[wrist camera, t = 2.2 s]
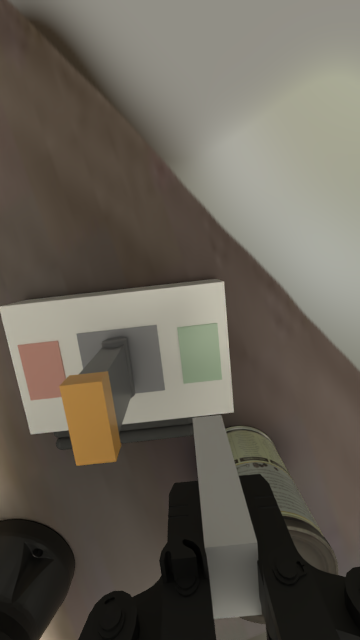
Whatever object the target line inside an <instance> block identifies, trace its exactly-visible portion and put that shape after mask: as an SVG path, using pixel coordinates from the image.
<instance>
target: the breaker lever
mask: <svg viewBox="0 0 360 640" xmlns="http://www.w3.org/2000/svg"><path fill="white" fill-rule="evenodd" d="M101 345H102V348H101V349H100V350H99V351H98V353H97V354H96V355H95V356H94V357H93V358H92V359H91V361H90V362H89V363H88V364H87V365H86V366H85V368H84V369H83V370H82V371H81V372H80V373H79V374H78V375H69V376H68V377H67V378H66V379H65V380H64V382H63V383H62V384H61V385H60V386H59V387H60V392H61V397H62V401H63V406H64V411H65V415H66V420H67V424H68V429H69V434H70V438H71V443H72V448H73V452H74V457H75V462H76V466H79V465H88V464H98V463H107V462H116V461H117V457H118V454H119V450H120V447H121V443H120V437H119V432H120V429H121V426H122V423H123V420H124V417H125V414H126V411H127V408H128V404H129V401H130V398H132V397H133V396H134V395H135V387H134V380H133V374H132V367H131V361H130V354H129V348H128V342H127V338H126V337H115V338H110V339H106V340H104V341H102V342H101Z"/></svg>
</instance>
